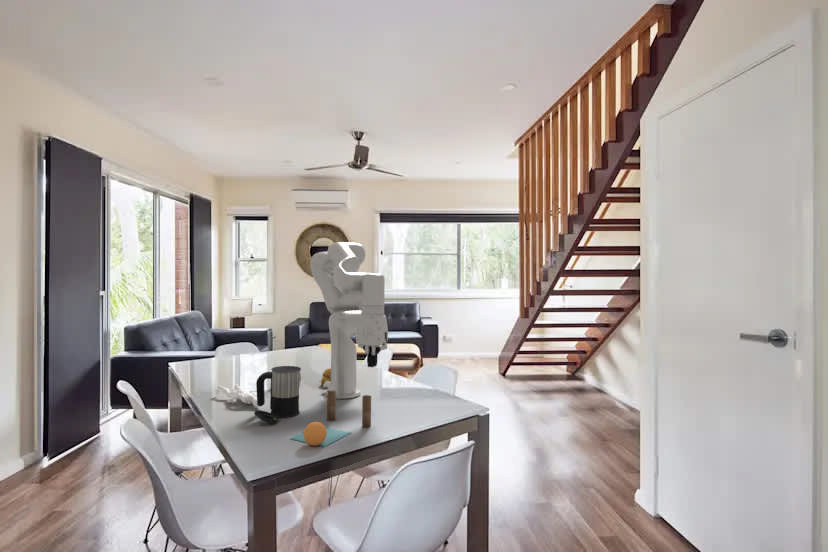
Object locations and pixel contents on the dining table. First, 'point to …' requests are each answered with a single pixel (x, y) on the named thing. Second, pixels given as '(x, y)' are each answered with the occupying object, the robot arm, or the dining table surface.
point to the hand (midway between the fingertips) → (372, 366)
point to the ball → (315, 433)
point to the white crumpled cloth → (239, 395)
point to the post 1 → (331, 405)
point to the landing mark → (330, 437)
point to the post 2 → (366, 411)
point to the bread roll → (326, 376)
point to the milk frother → (279, 393)
